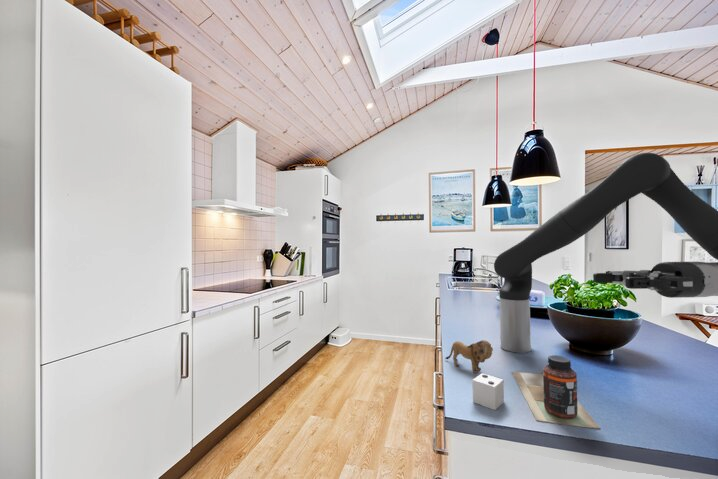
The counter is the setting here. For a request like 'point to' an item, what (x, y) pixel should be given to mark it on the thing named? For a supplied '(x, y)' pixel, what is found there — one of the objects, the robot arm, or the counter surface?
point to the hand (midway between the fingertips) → (609, 280)
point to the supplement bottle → (560, 387)
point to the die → (488, 391)
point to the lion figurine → (472, 353)
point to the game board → (535, 399)
